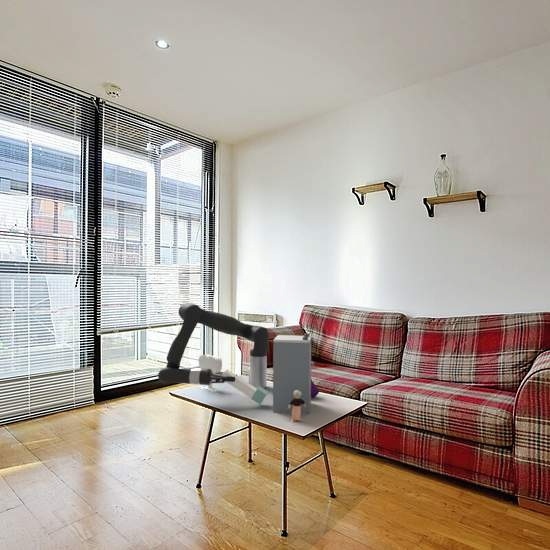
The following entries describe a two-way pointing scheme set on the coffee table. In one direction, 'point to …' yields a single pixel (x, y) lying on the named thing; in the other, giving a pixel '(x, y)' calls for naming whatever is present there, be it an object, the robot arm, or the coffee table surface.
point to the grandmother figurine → (296, 406)
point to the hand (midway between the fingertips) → (235, 378)
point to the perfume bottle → (313, 387)
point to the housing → (291, 371)
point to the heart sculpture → (210, 366)
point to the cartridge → (247, 388)
